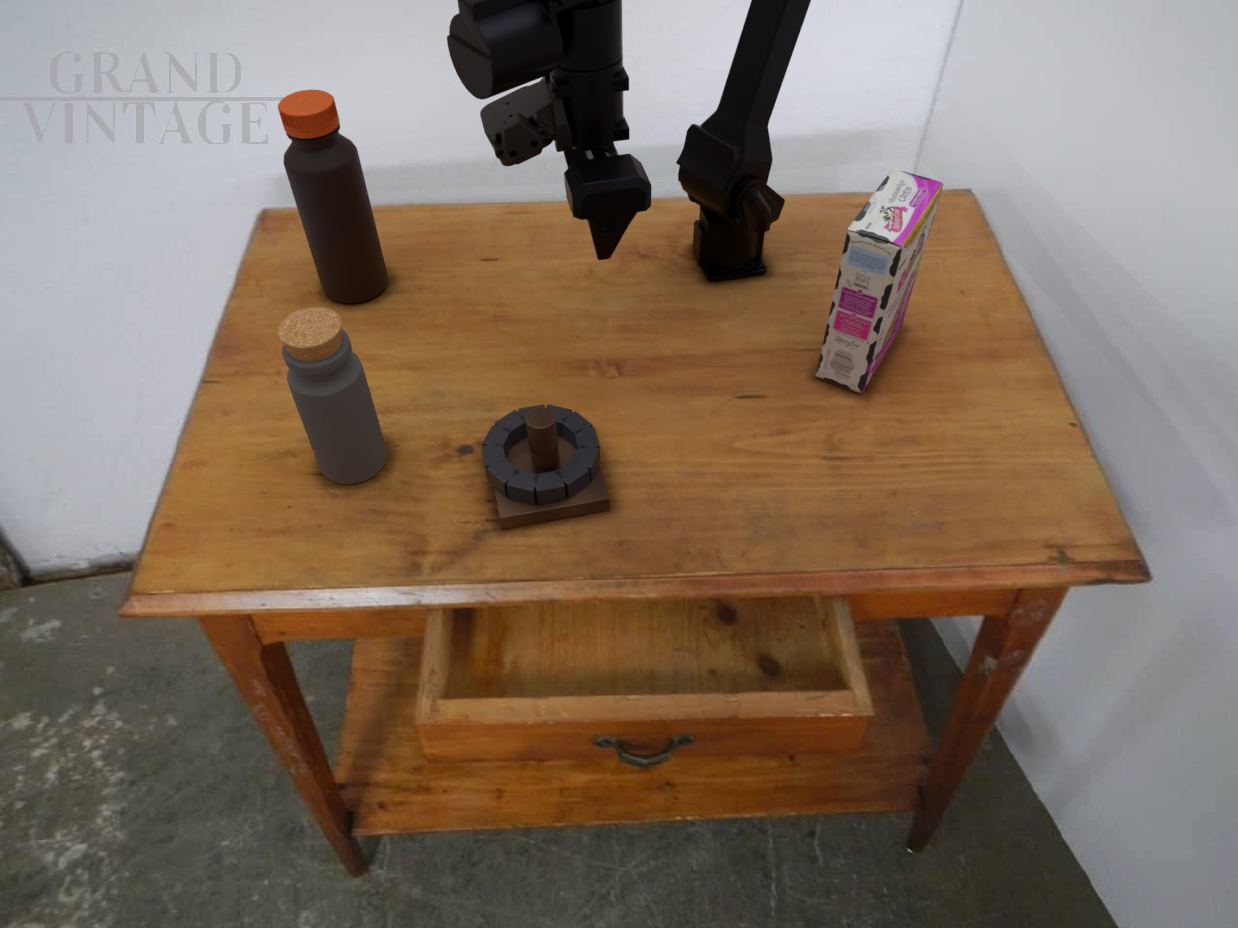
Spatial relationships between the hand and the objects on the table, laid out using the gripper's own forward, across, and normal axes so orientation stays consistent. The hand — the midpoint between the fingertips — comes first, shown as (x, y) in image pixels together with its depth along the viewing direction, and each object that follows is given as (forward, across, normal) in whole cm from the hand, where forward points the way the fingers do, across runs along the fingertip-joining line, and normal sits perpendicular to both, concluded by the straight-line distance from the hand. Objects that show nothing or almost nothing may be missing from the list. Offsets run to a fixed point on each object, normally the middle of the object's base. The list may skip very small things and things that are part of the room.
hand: (592, 228), depth 83 cm
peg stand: (+12, +18, -8) cm, 23 cm away
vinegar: (+12, -13, -23) cm, 29 cm away
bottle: (+12, +12, -24) cm, 29 cm away
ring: (+10, +17, -8) cm, 22 cm away
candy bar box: (+12, +9, +24) cm, 28 cm away
